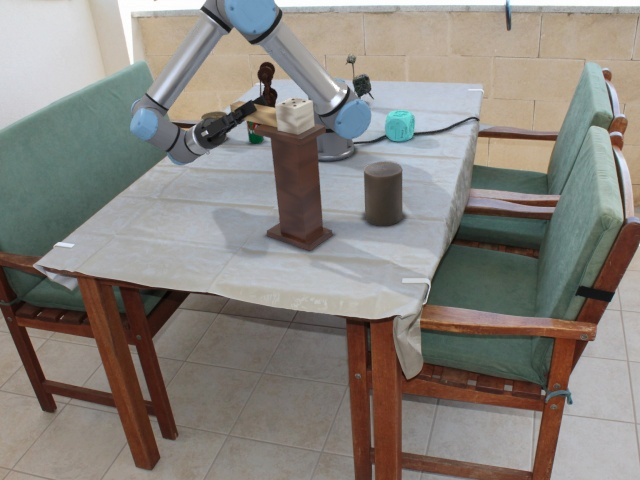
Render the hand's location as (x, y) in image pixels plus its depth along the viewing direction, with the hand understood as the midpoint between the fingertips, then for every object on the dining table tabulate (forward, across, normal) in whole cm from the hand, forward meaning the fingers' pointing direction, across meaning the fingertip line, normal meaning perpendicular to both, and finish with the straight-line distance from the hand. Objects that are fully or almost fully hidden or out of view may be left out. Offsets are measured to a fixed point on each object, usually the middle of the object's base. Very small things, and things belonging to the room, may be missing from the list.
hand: (258, 103), depth 150 cm
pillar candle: (+2, -19, -39) cm, 44 cm away
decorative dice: (-20, -69, -26) cm, 77 cm away
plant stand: (-9, 0, -33) cm, 34 cm away
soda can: (-55, -42, -6) cm, 70 cm away
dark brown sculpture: (-65, -62, -1) cm, 90 cm away
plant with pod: (-47, -90, -11) cm, 102 cm away
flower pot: (-67, -37, +1) cm, 77 cm away
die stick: (0, 0, -5) cm, 5 cm away
